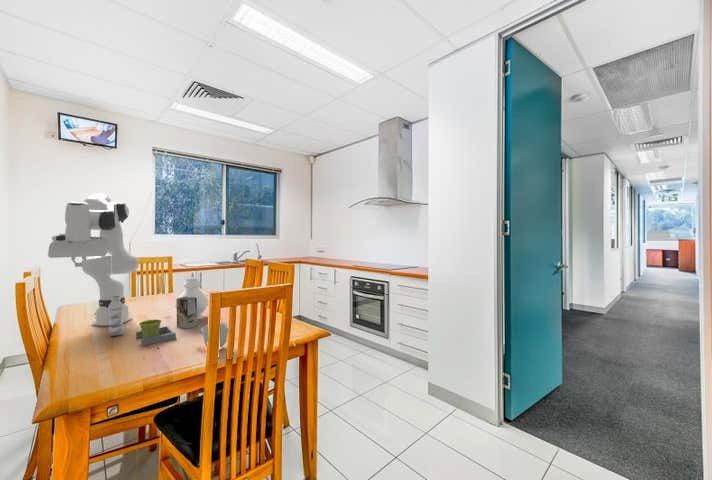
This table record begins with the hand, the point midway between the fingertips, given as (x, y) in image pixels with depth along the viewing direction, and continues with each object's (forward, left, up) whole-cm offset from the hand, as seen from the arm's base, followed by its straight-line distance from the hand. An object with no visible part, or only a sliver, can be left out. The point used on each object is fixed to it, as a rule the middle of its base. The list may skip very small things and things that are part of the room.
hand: (78, 266), depth 143 cm
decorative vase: (-14, +52, -37) cm, 65 cm away
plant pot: (+12, +26, -37) cm, 47 cm away
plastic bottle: (-6, +14, -37) cm, 40 cm away
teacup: (+45, +45, -37) cm, 74 cm away
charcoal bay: (+12, +28, -37) cm, 48 cm away
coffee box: (+1, +45, -37) cm, 58 cm away
